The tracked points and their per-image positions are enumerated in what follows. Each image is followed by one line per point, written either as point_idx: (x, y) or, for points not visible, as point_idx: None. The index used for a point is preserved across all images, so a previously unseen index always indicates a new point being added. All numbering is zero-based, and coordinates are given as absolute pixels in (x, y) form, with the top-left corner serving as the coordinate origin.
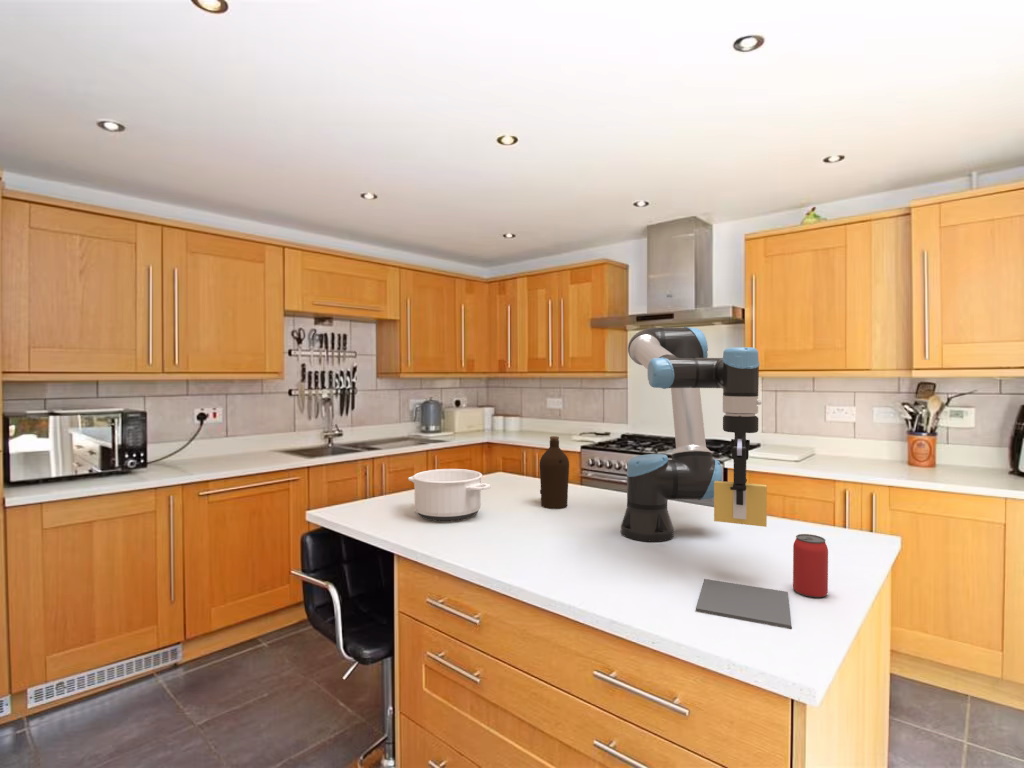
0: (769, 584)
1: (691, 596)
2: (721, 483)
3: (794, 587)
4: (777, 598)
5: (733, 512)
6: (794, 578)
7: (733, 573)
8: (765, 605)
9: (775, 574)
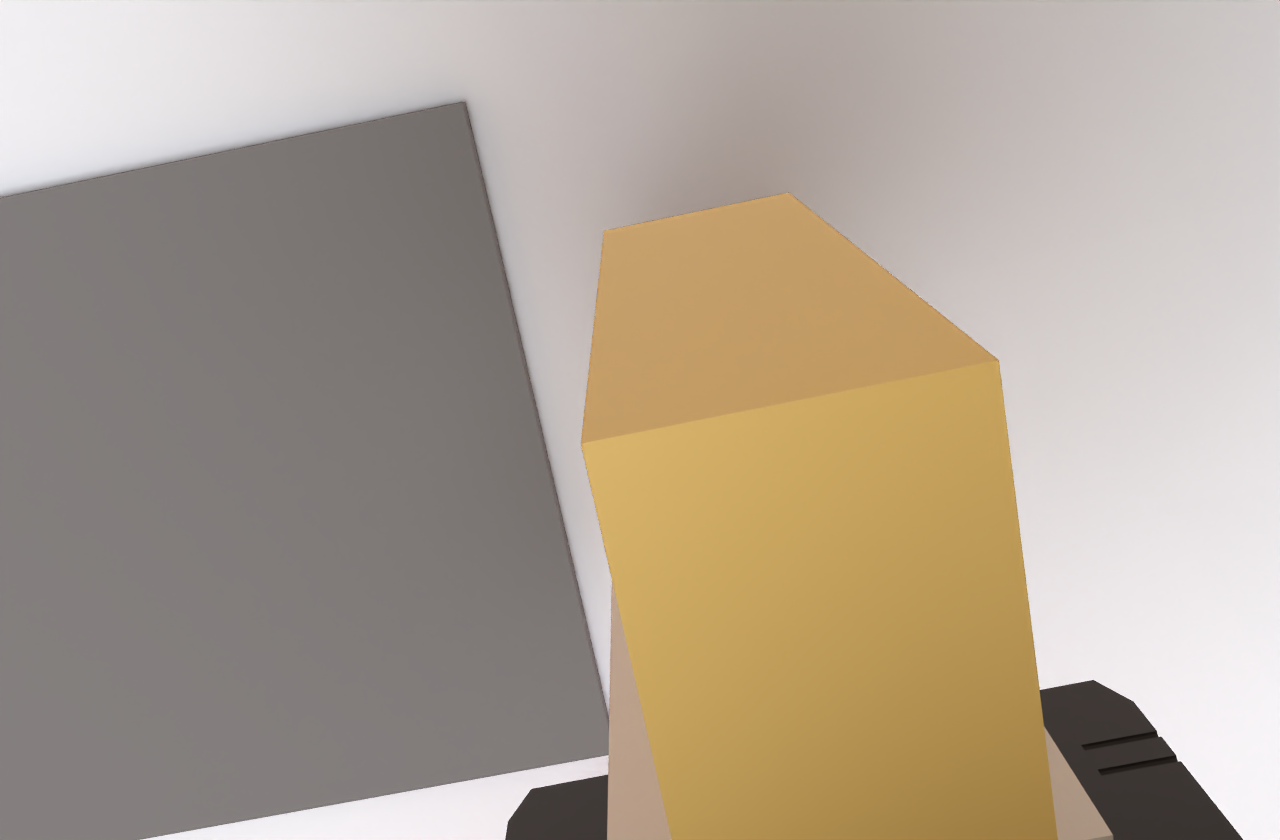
0: None
1: (30, 116)
2: (636, 679)
3: None
4: (418, 717)
5: (614, 626)
6: None
7: None
8: (218, 673)
9: (1040, 588)
